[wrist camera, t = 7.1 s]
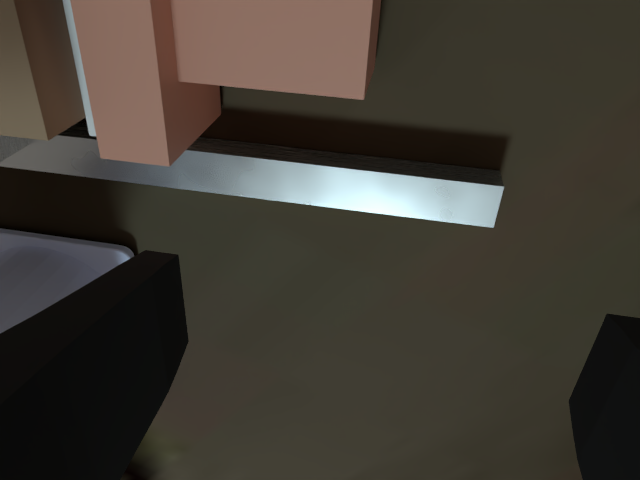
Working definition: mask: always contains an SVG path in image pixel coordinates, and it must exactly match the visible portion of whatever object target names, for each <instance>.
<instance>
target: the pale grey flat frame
mask: <svg viewBox="0 0 640 480" xmlns="http://www.w3.org/2000/svg"><path fill="white" fill-rule="evenodd" d="M0 166H2V167H10V168H18V169H26V170H34V171H42V172H50V173H58V174H66V175H74V176H82V177H90V178H98V179H106V180H114V181H122V182H130V183H138V184H146V185H154V186H162V187H170V188H178V189H186V190H194V191H202V192H210V193H218V194H226V195H234V196H242V197H250V198H258V199H266V200H275V201H283V202H291V203H299V204H307V205H315V206H323V207H331V208H339V209H347V210H355V211H363V212H371V213H379V214H387V215H395V216H403V217H411V218H419V219H427V220H435V221H443V222H451V223H459V224H467V225H475V226H483V227H491V228H493V227H494V223H495V220H496V216H497V212H498V208H499V204H500V200H501V197H502V193H503V189H504V185H503V181H502V177H501V173H500V171H499V170H490V169H481V168H472V167H463V166H454V165H445V164H436V163H427V162H419V161H410V160H401V159H392V158H383V157H374V156H365V155H356V154H347V153H338V152H329V151H320V150H311V149H302V148H293V147H284V146H275V145H266V144H258V143H249V142H240V141H231V140H222V139H213V138H204V137H198V138H197V139H196V140H195V141H194V142H193V143H192V144H191V145H190V146H189V147H188V148H187V149H186V150H185V152H184V153H183V154H182V155H181V156H180V157H179V158H178V159H177V160H176V161H175V162H174V163H173V164H172V165H171V166H170V167H169V166H160V165H152V164H143V163H135V162H127V161H118V160H110V159H102V158H100V153H99V147H98V142H97V137H96V136H89V131H88V126H87V124H79V123H76V124H74V125H73V126H71V127H69V128H68V129H66V130H65V131H63V132H61V133H60V134H58V135H57V136H55V137H53V138H52V139H50V140H49V141H45V140H37V139H28V138H20V137H11V136H3V135H0Z"/></svg>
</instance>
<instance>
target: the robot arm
mask: <svg viewBox="0 0 640 480" xmlns="http://www.w3.org/2000/svg"><path fill="white" fill-rule="evenodd" d="M187 344H188V333H187V325H186V316H185V308H184V299H183V291H182V282H181V274H180V265H179V257H178V255H176V254H169V253H161V252H154V251H147V250H145V251H143V252H141V253H140V254H138V255H136V256H134V254H133V252H132V251H131V250H130V249H129V248H127V247H126V246H122V245H116V244H109V243H102V242H94V241H87V240H80V239H73V238H66V237H59V236H52V235H44V234H37V233H30V232H23V231H16V230H9V229H2V228H0V480H120V479H121V477H122V475H123V473H124V471H125V470H126V468H127V466H128V464H129V462H130V461H131V459H132V457H133V455H134V453H135V452H136V450H137V448H138V446H139V445H140V443H141V441H142V439H143V437H144V436H145V434H146V432H147V430H148V428H149V427H150V425H151V423H152V421H153V419H154V417H155V416H156V414H157V412H158V410H159V408H160V406H161V405H162V403H163V401H164V399H165V397H166V395H167V393H168V392H169V389H170V387H171V384H172V382H173V380H174V377H175V375H176V372H177V370H178V367H179V365H180V362H181V359H182V357H183V354H184V352H185V349H186V346H187ZM569 406H570V414H571V421H572V429H573V436H574V442H575V448H576V454H577V460H578V463H579V467H580V471H581V475H582V478H583V480H640V318H634V317H627V316H620V315H613V314H607V315H606V317H605V319H604V322H603V324H602V326H601V328H600V331H599V333H598V335H597V338H596V340H595V342H594V344H593V347H592V349H591V351H590V354H589V356H588V358H587V360H586V363H585V365H584V367H583V370H582V372H581V374H580V376H579V379H578V381H577V383H576V386H575V388H574V390H573V392H572V395H571V397H570V399H569Z"/></svg>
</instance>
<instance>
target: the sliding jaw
mask: <svg viewBox="0 0 640 480" xmlns="http://www.w3.org/2000/svg"><path fill="white" fill-rule="evenodd" d="M62 1H63V6H64V11H65V16H66V21H67V26H68V31H69V36H70V41H71V46H72V51H73V56H74V61H75V66H76V71H77V76H78V81H79V86H80V91H81V96H82V101H83V106H84V111H85V116H86V121H87V126H88V131H89V136H96V137H97V142H98V147H99V153H100V158H102V159H110V160H118V161H127V162H135V163H143V164H152V165H160V166H169V167H170V166H171V165H172V164H173V163H174V162H175V161H176V160H177V159H178V158H179V157H180V156H181V155H182V154H183V153H184V152H185V150H186V149H187V148H188V147H189V146H190V145H191V144H192V143H193V142H194V141H195V140H196V139H197V138H198V137H199V136H200V135H201V134H202V133H203V132H204V131H205V130H206V129H207V128H208V127H209V126H210V125H211V124H212V123H213V122H214V121H215V120H216V119H217V118H218V117H219V116H220V115H221V101H220V86H229V87H239V88H250V89H260V90H270V91H280V92H290V93H300V94H310V95H320V96H330V97H340V98H350V99H360V100H364V98H365V95H366V92H367V89H368V86H369V83H370V80H371V77H372V74H373V71H374V68H375V58H376V48H377V38H378V28H379V17H380V7H381V0H62Z"/></svg>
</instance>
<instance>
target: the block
mask: <svg viewBox="0 0 640 480" xmlns="http://www.w3.org/2000/svg"><path fill="white" fill-rule="evenodd" d="M84 118H86V116H85V111H84V106H83V101H82V96H81V91H80V86H79V81H78V76H77V71H76V66H75V61H74V56H73V51H72V46H71V41H70V36H69V31H68V26H67V21H66V16H65V11H64V6H63V1H62V0H0V135H3V136H11V137H20V138H28V139H37V140H45V141H49V140H50V139H52V138H53V137H55V136H57V135H58V134H60V133H61V132H63V131H65V130H66V129H68V128H69V127H71V126H73V125H74V124H76V123H78V122H79V121H81V120H82V119H84Z"/></svg>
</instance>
